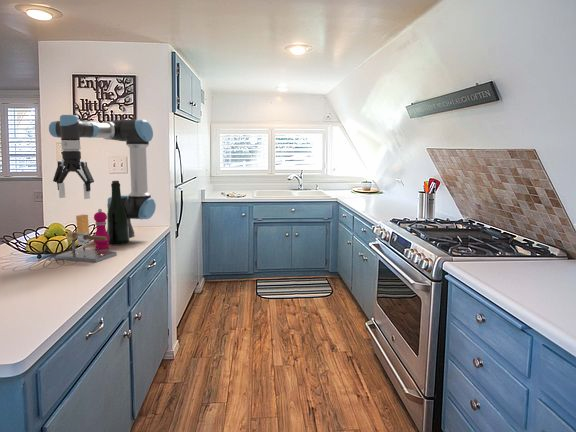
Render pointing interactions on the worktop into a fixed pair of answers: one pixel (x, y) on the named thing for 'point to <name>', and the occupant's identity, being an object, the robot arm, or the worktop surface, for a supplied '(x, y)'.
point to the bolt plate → (86, 255)
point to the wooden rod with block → (74, 236)
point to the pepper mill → (101, 230)
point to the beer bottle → (117, 218)
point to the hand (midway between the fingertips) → (74, 198)
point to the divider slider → (82, 229)
